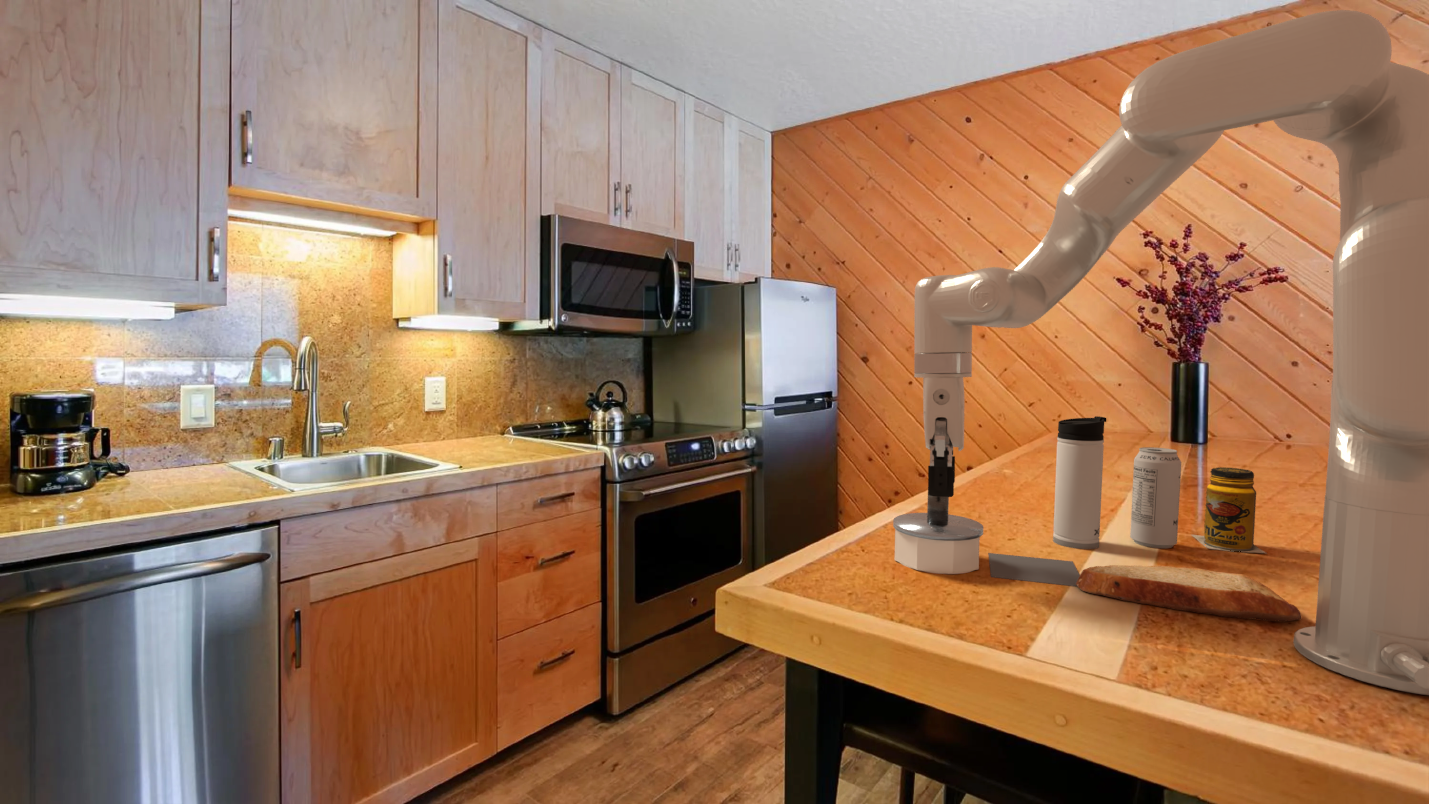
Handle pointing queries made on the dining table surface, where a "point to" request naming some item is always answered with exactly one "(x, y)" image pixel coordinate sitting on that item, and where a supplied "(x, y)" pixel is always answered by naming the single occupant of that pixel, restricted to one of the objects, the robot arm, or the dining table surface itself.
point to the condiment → (1230, 511)
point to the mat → (1033, 569)
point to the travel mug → (1079, 482)
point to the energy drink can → (1155, 497)
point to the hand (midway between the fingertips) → (942, 489)
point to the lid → (938, 523)
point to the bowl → (937, 554)
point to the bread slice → (1189, 591)
